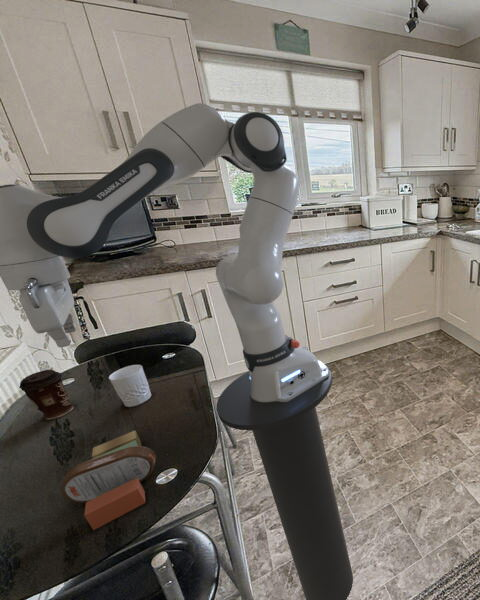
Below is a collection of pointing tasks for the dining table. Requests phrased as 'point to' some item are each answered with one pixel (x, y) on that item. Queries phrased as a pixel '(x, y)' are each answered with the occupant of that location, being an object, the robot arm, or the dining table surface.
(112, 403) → the dining table surface
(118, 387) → the white cup
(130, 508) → the terracotta block
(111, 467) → the tin
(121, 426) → the dining table surface
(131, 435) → the beech block
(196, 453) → the dining table surface
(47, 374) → the coffee cup
